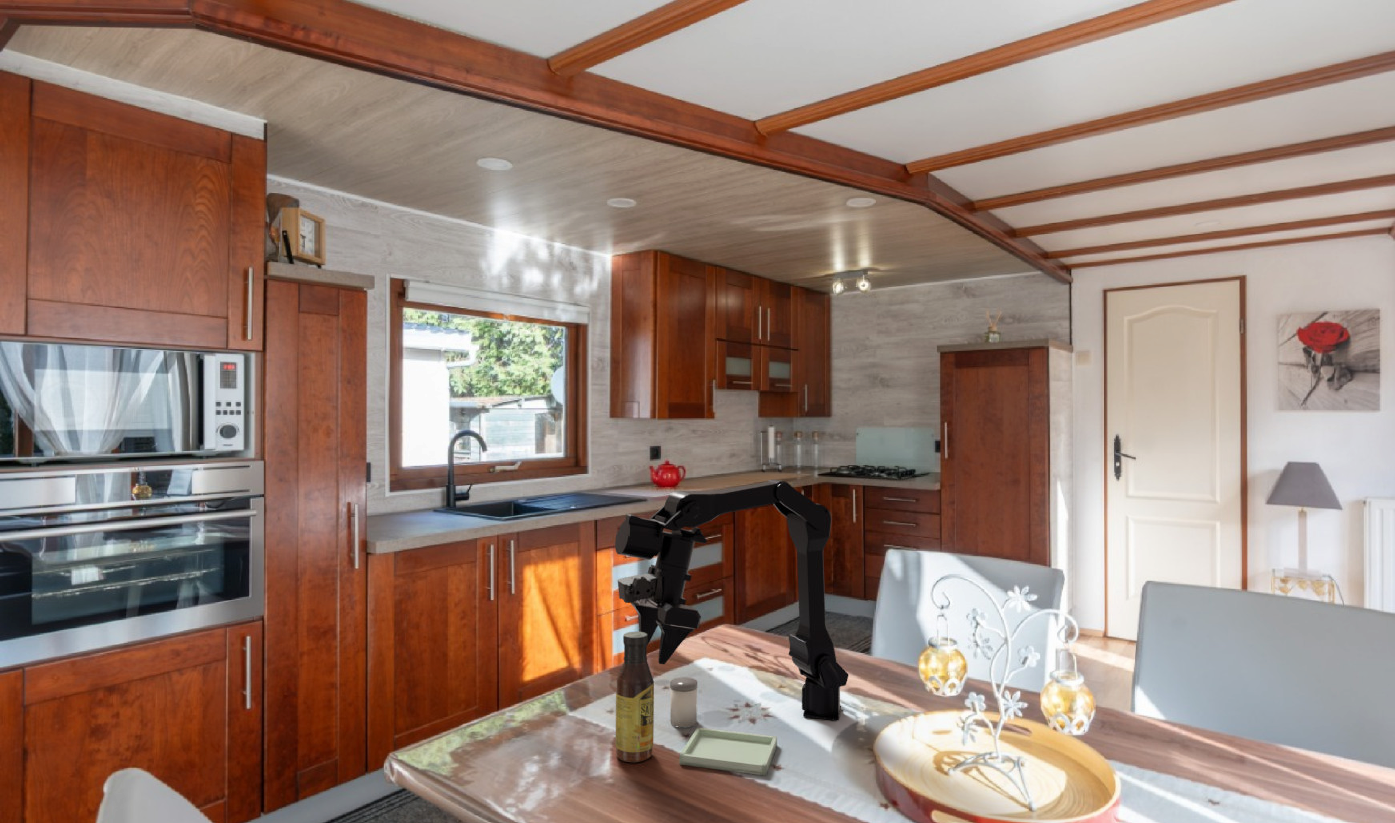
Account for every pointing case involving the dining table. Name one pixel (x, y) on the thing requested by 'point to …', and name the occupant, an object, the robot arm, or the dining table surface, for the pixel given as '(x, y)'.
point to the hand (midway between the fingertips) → (651, 655)
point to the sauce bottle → (634, 701)
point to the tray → (729, 751)
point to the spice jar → (683, 702)
